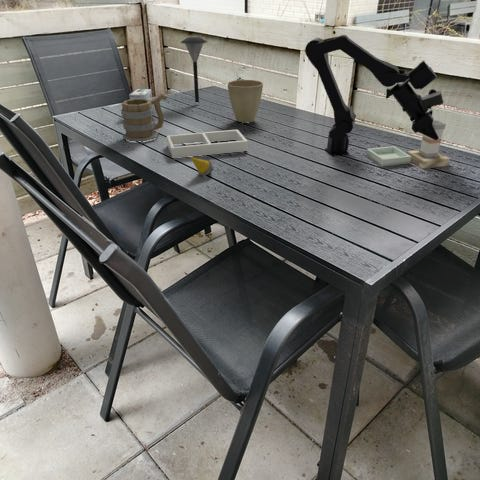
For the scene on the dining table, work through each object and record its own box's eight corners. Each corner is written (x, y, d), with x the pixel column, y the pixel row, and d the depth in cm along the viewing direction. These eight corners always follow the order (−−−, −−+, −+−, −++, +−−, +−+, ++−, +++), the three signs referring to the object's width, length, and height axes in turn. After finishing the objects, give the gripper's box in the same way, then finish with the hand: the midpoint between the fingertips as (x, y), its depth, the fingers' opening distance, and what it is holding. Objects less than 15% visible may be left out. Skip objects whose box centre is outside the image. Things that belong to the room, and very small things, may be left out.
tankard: (134, 145, 164) (129, 105, 156) (118, 137, 172) (112, 98, 164) (179, 134, 175) (176, 96, 167) (162, 127, 183) (158, 90, 176)
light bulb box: (139, 112, 203) (137, 88, 198) (154, 113, 203) (151, 88, 197) (131, 119, 194) (128, 94, 189) (146, 119, 194) (143, 94, 188)
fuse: (426, 158, 145) (433, 125, 139) (418, 153, 149) (425, 121, 143) (437, 157, 146) (445, 124, 140) (429, 152, 150) (437, 120, 144)
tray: (381, 166, 145) (383, 159, 144) (365, 155, 154) (366, 148, 152) (410, 163, 147) (411, 156, 146) (392, 152, 156) (393, 146, 155)
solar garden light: (181, 107, 210) (176, 39, 194) (188, 101, 220) (184, 35, 205) (206, 108, 208) (203, 39, 193) (212, 102, 219) (209, 36, 203)
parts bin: (172, 159, 152) (171, 148, 150) (167, 146, 163) (166, 135, 161) (247, 151, 158) (247, 141, 156) (237, 139, 169) (237, 129, 167)
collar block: (422, 168, 143) (424, 161, 142) (405, 158, 152) (406, 151, 150) (448, 165, 146) (450, 158, 144) (430, 155, 154) (431, 148, 152)
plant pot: (268, 119, 192) (269, 81, 184) (251, 128, 182) (251, 88, 173) (239, 114, 199) (239, 78, 191) (221, 122, 188) (220, 84, 180)
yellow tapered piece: (216, 178, 139) (194, 162, 132) (204, 181, 142) (182, 166, 135) (219, 164, 141) (198, 147, 134) (207, 167, 144) (186, 151, 137)
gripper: (432, 88, 129) (463, 129, 131) (430, 76, 144) (458, 113, 147) (398, 113, 135) (429, 151, 138) (400, 99, 150) (427, 133, 153)
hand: (437, 136), depth 144 cm, fingers closed on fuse, 5 cm apart
